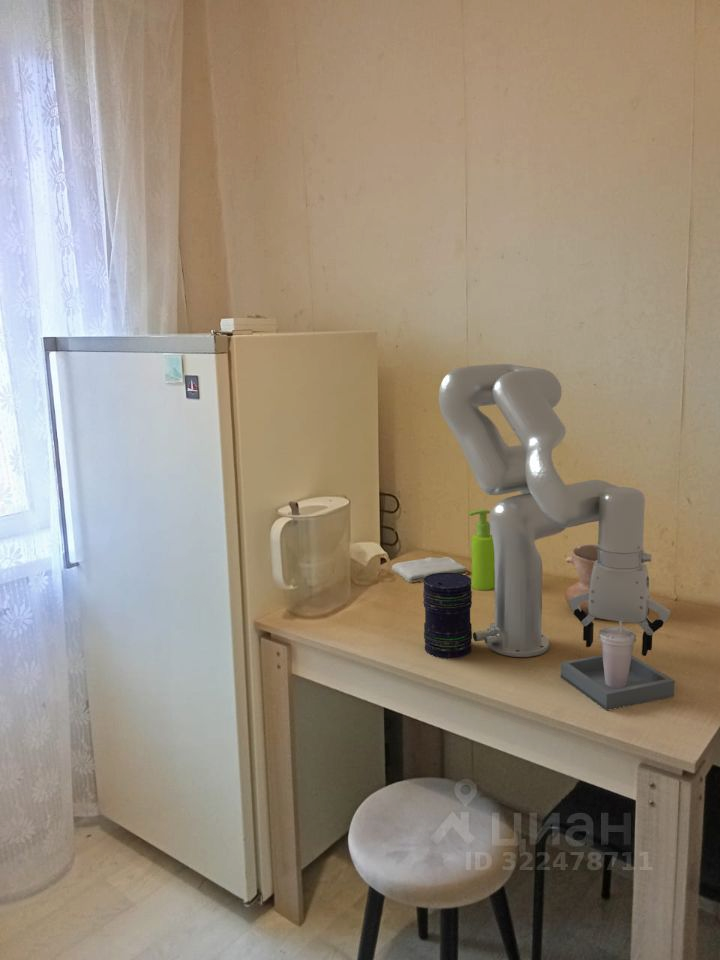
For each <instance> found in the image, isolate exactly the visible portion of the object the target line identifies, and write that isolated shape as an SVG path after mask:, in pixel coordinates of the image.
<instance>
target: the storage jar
mask: <svg viewBox="0 0 720 960" xmlns="http://www.w3.org/2000/svg"><path fill="white" fill-rule="evenodd" d="M472 593H473V592H472V577H470V576H468V575H463V574H459V573H448V572H446V573H435V574H431V575H428V576H426V577H425V578H424V581H423V595H422V596H423V601H422V603H423V606H424V612H425V613H424V614H425V618H424V619H425V620H424V621H425V622H424V624H423V625H424V626H423V628H424V629H423V630H424V631H423V638H424V651H425V653H427V654H428V653H429V654H430V655H429V654H428V655H429V656H431V655H433V656H432V657H434V656H435V657H434V658H437V657H439V659H444V658H447V660H448V658H451V659H450V660H452V658H454V659H460V658H464V657H467V656H468V655H469V654H471V653H472V649H473V648H472V639H473V631H472V622H471V608H472V604H473V602H472V598H473V594H472Z"/></svg>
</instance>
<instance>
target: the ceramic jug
mask: <svg viewBox="0 0 720 960" xmlns="http://www.w3.org/2000/svg"><path fill="white" fill-rule="evenodd" d="M596 560H598V544H584V545H583V544H582V545H579V546H578V547H577V546H575V547H574V548H573V549H571V556H568V557H566V559H565V562H566V563H568V564H572V565H573V566H574V567H575V570H576V574H577V577H578V579H579V581H577V582H575V583H574V584H572V585H570V586H568V587H567V589H566V592H565V594H564V595H565V600H566V603H567V605H568V606H569V607H570V608H571V606H570V604H569V600H570V598H571V597H574V596H577V595H580V594H583V593H585V592H588V591H589V588H590V580H591V574H592V569H593V565H594V562H595V561H596ZM579 605H580V608H581V609H582V610H583V611H584V612H585V613H586V614H587V613H588V600H587V601H584V602H581V603H579Z"/></svg>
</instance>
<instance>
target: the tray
mask: <svg viewBox="0 0 720 960" xmlns="http://www.w3.org/2000/svg"><path fill="white" fill-rule="evenodd" d="M560 678H561V679H563V680H564V681H566V682H567V683H568V684H570V685H571V686H572V687H573V688H574V689H576V690H577V691H579V692H581V693H582V694H583V695H585V696H586V697H587V698H589V699H590V700H591V701H593V702H594V703H595V702H596V703H595V704H596V705H597V706H599V705H600V707H601V708H602V707H603V708H604V709H603V708H602V709H603V710H605V709H606V710H607V711H610V710H609V709H612V710H615V709H614V708H616V709H620V708H619V707H621V708H624V707H623V706H626V707H629V706H628V705H630V706H634V705H633V704H635V705H638V704H637V703H640V704H644V702H645V703H649V702H654V701H658V700H662V699H668V698H672V697H674V696H675V684H676V683H675V680H674V679H673V678H671V677H669V676H668V675H666V674H664V673H663V672H661V671H659V670H658V669H656V668H654V667H653V666H651V665H649V663H648V664H647V663H646V662H645V661H643V660H641V659H640V658H637V657H636V656H634V655H633V654H632V657H631V662H630V668H629V674H628V679H627V685H626V686H625V687H622V688H614V687H610V686H608V685H607V684H606V683H605V674H604V665H603V655H602V654H598V655H593V656H587V657H581V658H577V659H571V660H566V661H561V662H560ZM606 710H605V711H606Z"/></svg>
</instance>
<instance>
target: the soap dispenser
mask: <svg viewBox="0 0 720 960" xmlns="http://www.w3.org/2000/svg"><path fill="white" fill-rule="evenodd" d="M487 514H491V511H490V510H489V509H474V510H471V511H468V512H467V515H469V516H472V517H473V516H475V515H479V521H478V522H476V523H475V524H476V525H475V529H476V531H475V532H476V534H472V536H470V538H471V541H470V542H471V544H470V545H471V547H470V548H471V551H470V552H471V554H470V555H471V563H470V564H471V589H474V590H478V591H490V590H495V557H494V545H493V538H492V534H491V528H490V521H489V522H488V521H487V519H488V518H487Z"/></svg>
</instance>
